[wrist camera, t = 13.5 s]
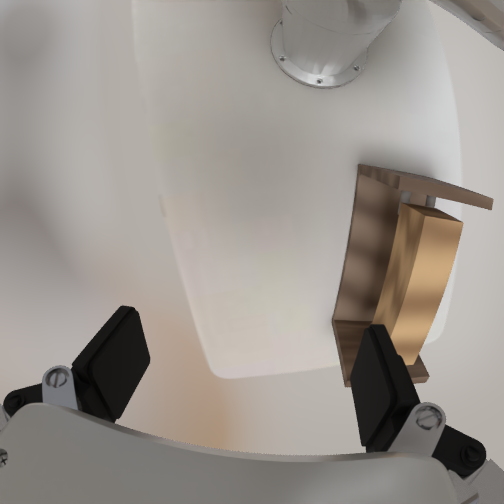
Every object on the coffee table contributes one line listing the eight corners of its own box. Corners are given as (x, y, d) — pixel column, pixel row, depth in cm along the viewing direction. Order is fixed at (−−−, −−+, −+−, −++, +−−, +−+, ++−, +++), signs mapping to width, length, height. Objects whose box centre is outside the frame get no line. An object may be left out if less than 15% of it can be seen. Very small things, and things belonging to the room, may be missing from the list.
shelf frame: (358, 164, 33) (400, 176, 20) (433, 178, 32) (493, 199, 19) (331, 322, 42) (344, 387, 29) (397, 324, 41) (425, 382, 28)
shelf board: (401, 202, 27) (425, 215, 22) (436, 208, 27) (463, 222, 21) (367, 336, 34) (378, 366, 28) (399, 336, 33) (413, 364, 28)
